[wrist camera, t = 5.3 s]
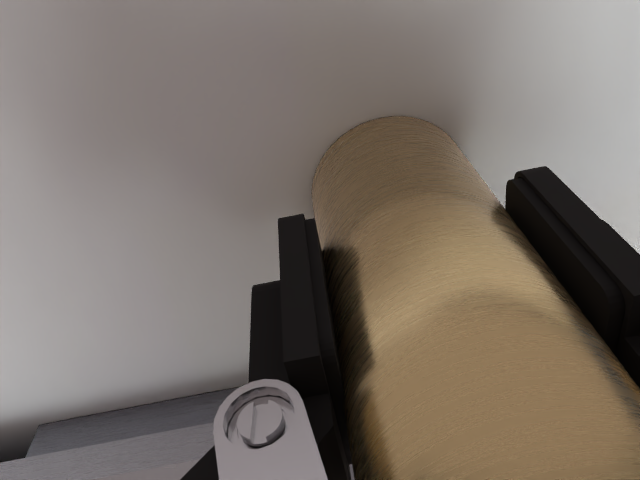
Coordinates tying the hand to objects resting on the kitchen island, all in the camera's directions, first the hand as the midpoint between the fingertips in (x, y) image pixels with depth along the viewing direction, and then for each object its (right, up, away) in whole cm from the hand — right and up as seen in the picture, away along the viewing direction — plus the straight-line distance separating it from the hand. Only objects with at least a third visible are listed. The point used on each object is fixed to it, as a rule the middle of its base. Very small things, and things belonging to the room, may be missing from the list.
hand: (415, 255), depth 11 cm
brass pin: (0, +2, +2) cm, 3 cm away
